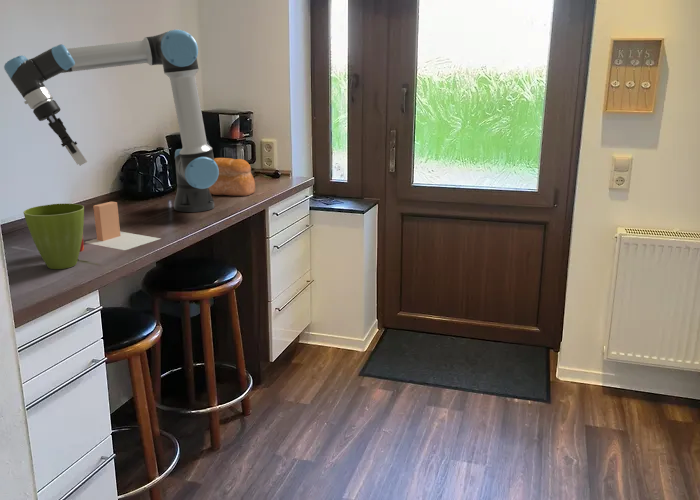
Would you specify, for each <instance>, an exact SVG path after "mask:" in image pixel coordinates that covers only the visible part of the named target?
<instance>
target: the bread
mask: <svg viewBox="0 0 700 500" xmlns="http://www.w3.org/2000/svg"><path fill="white" fill-rule="evenodd" d="M214 161H215V162H216V164H217V166H218V169H219V176H218V179H217V181H216V182H215V183H214V184H213V185H212V186H210V187H209V190H210V193H211V195H213V196H215V195H216V196H217V195H218V196H228V197H229V196H230V197H231V196H235V197H245V196H246V197H247V196H250V195H252V194H254V193H255V192H256V181H255V178H254V175H253V174H252V168H251V167H252V166H251V164H249V162H248V161H247V160H245V159H243V158H237V159H236V158H230V157H214Z"/></svg>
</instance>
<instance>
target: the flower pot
mask: <svg viewBox="0 0 700 500" xmlns="http://www.w3.org/2000/svg"><path fill="white" fill-rule="evenodd" d="M23 215H24V220H25V222H26V225H27V228H28V230H29V233H30V236H31V238H32V240H33V242H34V244H35V247H36V249H37V250H38V253H39V254H40V256H41V259H42V260H43V262H44V263H45V265H46V266H47V268H48V269H50V270H63V269H69V268H72V267H74V266H76V265H77V263H78V260H79V255H80V253H81V252H80V248H81V242H82V235H83V236H84V223H85V222H84V221H85V220H84V219H85V206H84V205H82V204H80V203H79V204H78V203H52V204H45V205H38V206H33V207H29V208H26V209H25V210H24V211H23Z"/></svg>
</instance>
